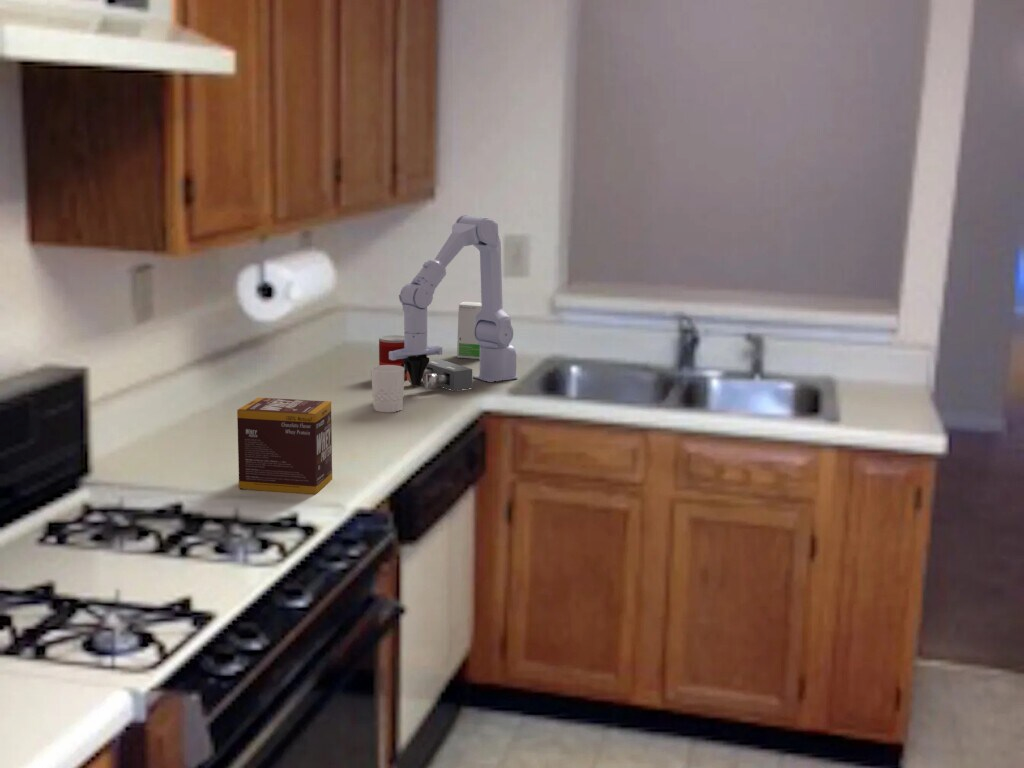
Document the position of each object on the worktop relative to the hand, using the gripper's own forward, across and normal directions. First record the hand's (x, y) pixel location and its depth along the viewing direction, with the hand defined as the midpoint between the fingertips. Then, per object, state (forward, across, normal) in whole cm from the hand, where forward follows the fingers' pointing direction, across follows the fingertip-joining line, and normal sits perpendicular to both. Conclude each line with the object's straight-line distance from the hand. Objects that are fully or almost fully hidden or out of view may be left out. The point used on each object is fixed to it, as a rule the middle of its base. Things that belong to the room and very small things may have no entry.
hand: (415, 385), depth 319 cm
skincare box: (+2, -39, -32) cm, 50 cm away
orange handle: (+1, -7, -8) cm, 11 cm away
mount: (+2, -12, -4) cm, 13 cm away
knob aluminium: (+1, -7, 0) cm, 7 cm away
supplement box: (+2, +62, +53) cm, 81 cm away
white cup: (+2, +15, +11) cm, 18 cm away
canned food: (+2, -4, -18) cm, 19 cm away
